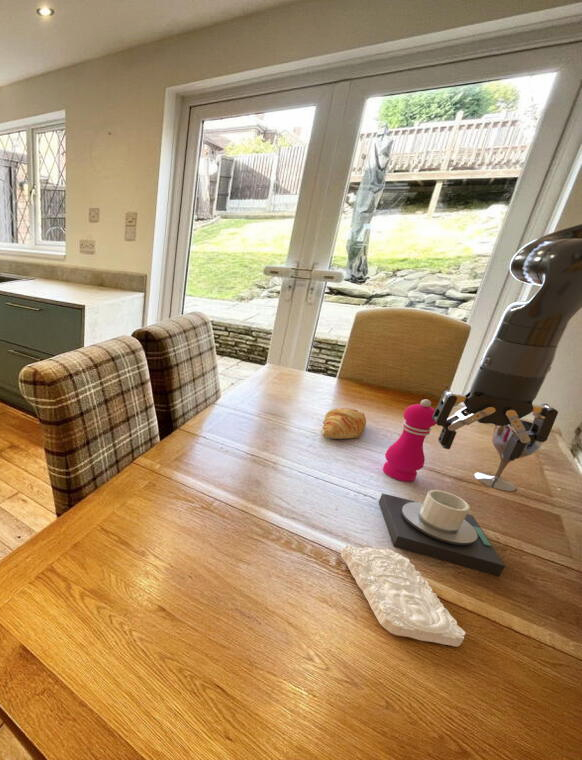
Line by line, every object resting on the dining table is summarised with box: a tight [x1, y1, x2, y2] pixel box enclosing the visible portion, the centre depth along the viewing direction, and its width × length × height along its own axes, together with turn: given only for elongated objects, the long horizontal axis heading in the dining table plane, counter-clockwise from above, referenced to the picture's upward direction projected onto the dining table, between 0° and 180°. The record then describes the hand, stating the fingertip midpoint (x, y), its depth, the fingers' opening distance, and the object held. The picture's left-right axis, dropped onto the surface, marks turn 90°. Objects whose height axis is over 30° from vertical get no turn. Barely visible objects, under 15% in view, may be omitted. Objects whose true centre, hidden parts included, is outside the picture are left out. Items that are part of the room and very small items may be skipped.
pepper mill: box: [382, 399, 437, 483], centre depth 92 cm, size 7×7×20 cm
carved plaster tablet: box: [340, 544, 466, 648], centre depth 64 cm, size 11×16×3 cm
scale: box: [378, 493, 506, 577], centre depth 76 cm, size 15×14×3 cm
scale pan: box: [402, 501, 478, 545], centre depth 76 cm, size 11×11×1 cm
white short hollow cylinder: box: [420, 489, 471, 531], centre depth 75 cm, size 6×6×5 cm
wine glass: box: [473, 419, 545, 492], centre depth 90 cm, size 8×8×15 cm
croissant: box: [321, 407, 367, 440], centre depth 114 cm, size 21×10×8 cm, turn 124°
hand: (475, 452), depth 70 cm, fingers open, 8 cm apart
